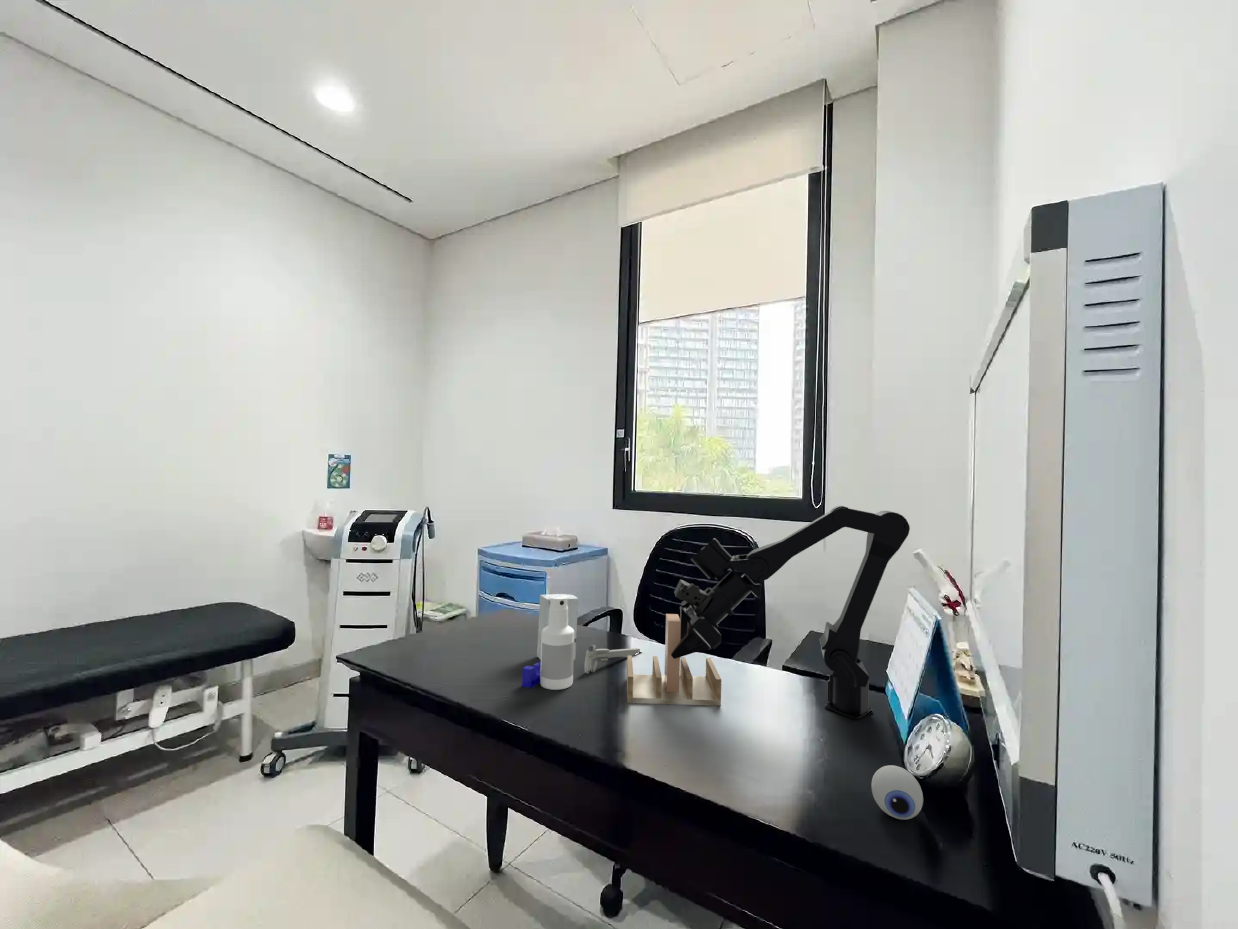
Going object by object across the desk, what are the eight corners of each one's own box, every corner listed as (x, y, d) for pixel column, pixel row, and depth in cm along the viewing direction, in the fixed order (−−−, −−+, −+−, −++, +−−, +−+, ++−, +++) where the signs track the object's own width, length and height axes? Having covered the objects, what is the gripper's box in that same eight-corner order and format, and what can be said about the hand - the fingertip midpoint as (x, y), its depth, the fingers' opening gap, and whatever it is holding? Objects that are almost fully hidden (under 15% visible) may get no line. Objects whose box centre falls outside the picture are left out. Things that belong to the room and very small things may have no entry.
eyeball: (873, 822, 66) (874, 775, 66) (868, 796, 72) (869, 752, 72) (927, 835, 64) (927, 786, 64) (918, 807, 70) (918, 762, 70)
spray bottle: (546, 693, 103) (549, 602, 104) (535, 680, 109) (538, 595, 110) (577, 687, 106) (580, 599, 107) (565, 675, 112) (568, 592, 113)
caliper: (587, 676, 113) (588, 647, 113) (584, 675, 114) (584, 646, 114) (642, 653, 129) (643, 628, 129) (639, 652, 130) (640, 627, 130)
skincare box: (542, 664, 118) (544, 599, 119) (536, 656, 124) (538, 594, 124) (577, 660, 122) (579, 597, 122) (569, 652, 127) (571, 592, 128)
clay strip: (676, 681, 108) (677, 614, 109) (679, 692, 103) (680, 621, 103) (664, 681, 108) (666, 613, 109) (666, 691, 103) (668, 621, 103)
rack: (710, 681, 111) (710, 658, 111) (720, 705, 99) (721, 679, 99) (626, 678, 111) (627, 655, 112) (627, 702, 99) (628, 676, 100)
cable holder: (538, 673, 114) (538, 655, 114) (551, 676, 112) (552, 658, 112) (516, 686, 106) (516, 666, 107) (530, 689, 105) (530, 669, 105)
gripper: (691, 560, 115) (641, 609, 115) (705, 576, 97) (645, 634, 97) (726, 597, 115) (675, 645, 115) (746, 619, 96) (686, 677, 96)
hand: (670, 649), depth 106 cm, fingers open, 9 cm apart
